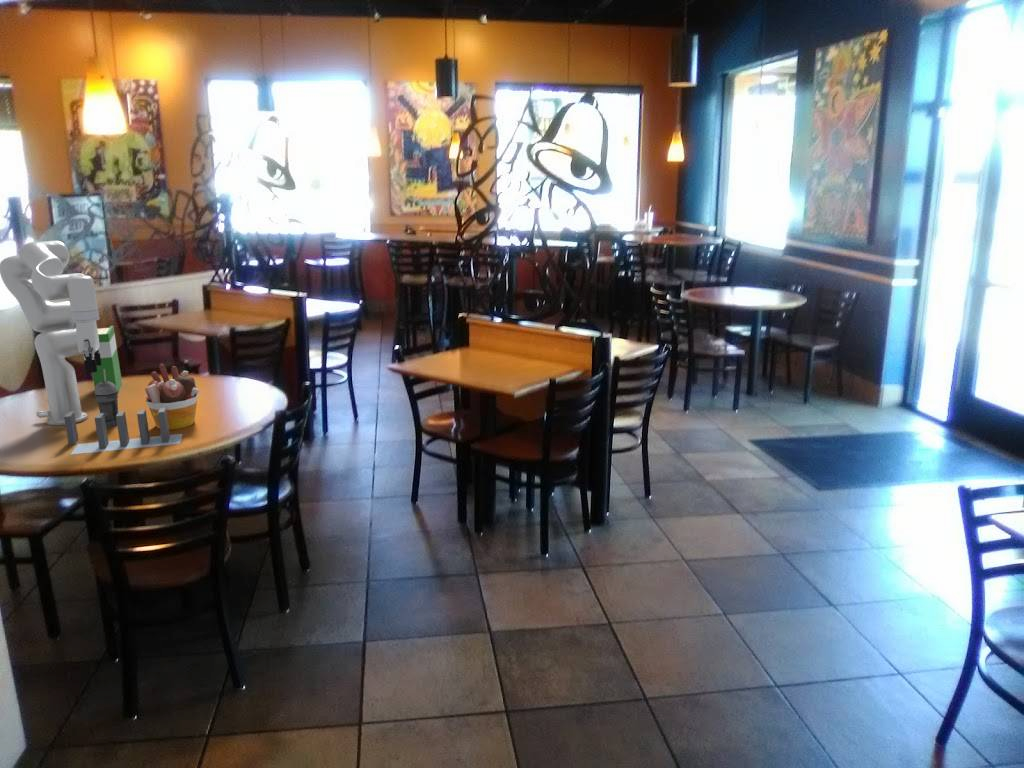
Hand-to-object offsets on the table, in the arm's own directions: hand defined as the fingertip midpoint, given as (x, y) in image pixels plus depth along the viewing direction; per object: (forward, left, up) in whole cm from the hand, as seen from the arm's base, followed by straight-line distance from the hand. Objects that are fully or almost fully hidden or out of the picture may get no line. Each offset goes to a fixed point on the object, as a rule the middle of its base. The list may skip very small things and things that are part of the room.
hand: (94, 368), depth 260 cm
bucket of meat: (+21, +4, -23) cm, 31 cm away
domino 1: (-8, -6, -23) cm, 25 cm away
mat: (+9, -13, -23) cm, 27 cm away
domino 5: (+20, -13, -22) cm, 32 cm away
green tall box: (-9, +61, -23) cm, 66 cm away
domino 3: (+8, -13, -22) cm, 27 cm away
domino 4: (+14, -13, -22) cm, 29 cm away
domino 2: (+2, -13, -22) cm, 25 cm away
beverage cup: (0, +11, -23) cm, 25 cm away
